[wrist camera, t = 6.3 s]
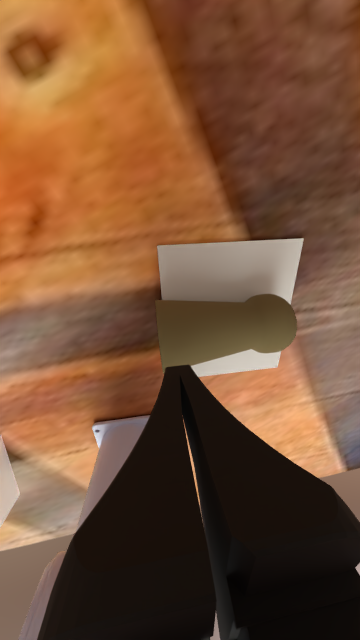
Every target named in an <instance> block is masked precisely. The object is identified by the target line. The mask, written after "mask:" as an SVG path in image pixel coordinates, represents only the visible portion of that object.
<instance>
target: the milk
mask: <svg viewBox="0 0 360 640" xmlns="http://www.w3.org/2000/svg"><path fill="white" fill-rule="evenodd" d="M19 495H20V492H19V489H18V486H17V482H16V479H15V476H14V473H13V470H12V467H11V464H10V461H9V458H8V455H7V451H6V448H5V445H4V442H3V439H2V436H1V435H0V527H1V525H2V524H3V522H4V520H5V519H6V517H7V515H8V514H9V512H10V510H11V509H12V507H13V505H14V504H15V502H16V500H17V499H18V497H19Z"/></svg>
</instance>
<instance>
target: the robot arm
mask: <svg viewBox="0 0 360 640" xmlns="http://www.w3.org/2000/svg"><path fill="white" fill-rule="evenodd" d="M182 415H183V416H182ZM183 419H184V422H183ZM184 423H185V428H186V432H187V436H188V440H189V445H190V449H191V453H192V457H193V462H194V467H195V473H196V479H197V486H198V492H199V498H200V505H201V511H202V517H201V513H200V507H199V502H198V497H197V492H196V487H195V482H194V476H193V471H192V466H191V461H190V455H189V450H188V444H187V439H186V433H185V428H184ZM92 429H93V432H94V435H95V438H96V441H97V444H98V447H99V452H98V455H97V459H96V462H95V466H94V469H93V473H92V476H91V480H90V483H89V487H88V490H87V494H86V497H85V501H84V504H83V508H82V511H81V515H80V518H79V522H78V526H77V529H76V533H74V534H73V537H72V540H71V542H70V545H69V547H68V550H67V552H66V551H61V552H58V553H57V555H56V557H55V558H54V559H53V560H52V561H51V562H50V563H49V564H48V565H47V566H46V568H45V570H44V572H43V575H42V577H41V580H40V582H39V585H38V587H37V589H36V593H35V595H34V597H33V600H32V603H31V605H30V608H29V611H28V614H27V616H26V619H25V622H24V625H23V628H22V631H21V633H20V636H19V639H18V640H210V637H211V636H213V631H214V622H215V613H217V620H218V627H219V633H220V639H221V640H360V575H359V574H358V572H357V570H356V569H355V567H356V566H357V565H358V564H359V563H360V522H359V521H358V519H357V518H356V517H355V515H354V514H353V513H352V511H351V510H350V509H349V507H348V506H347V505H346V504H345V502H344V501H343V500H342V499H341V498H340V497H339V495H338V494H337V493H336V492H335V490H334V489H333V488H332V487H331V486H330V485H328V484H327V483H325V482H323V481H322V480H320V479H319V478H317V477H315V476H314V475H312V474H311V473H309V472H308V471H306V470H304V469H303V468H301V467H300V466H298V465H296V464H295V463H293V462H292V461H290V460H289V459H288V458H286V457H285V456H283V455H282V454H280V453H279V452H278V451H276V450H275V449H273V448H272V447H271V446H269V445H268V444H267V443H266V442H264V441H263V440H262V439H260V438H259V437H258V436H256V435H255V434H254V433H253V432H251V431H250V430H249V429H248V428H246V427H245V426H244V425H243V424H242V423H241V422H239V421H238V420H237V419H236V418H235V417H234V416H233V415H232V414H231V413H230V412H229V411H228V410H226V409H225V408H224V407H223V406H222V404H221V403H220V402H219V401H218V400H217V399H216V398H215V397H214V396H213V395H212V394H211V393H210V391H209V390H208V389H207V388H206V387H205V385H204V384H203V383H202V382H201V380H200V379H199V378H198V376H197V375H196V374H195V372H194V371H193V369H192V367H191V366H190V365H189V364H188V365H180V366H171V367H166V368H165V373H164V378H163V382H162V386H161V389H160V392H159V395H158V398H157V400H156V403H155V405H154V408H153V410H152V412H151V415H147V416H140V417H133V418H126V419H118V420H111V421H104V422H97V423H94V424H93V426H92ZM202 518H203V522H202ZM203 524H204V527H203ZM204 531H205V532H204Z"/></svg>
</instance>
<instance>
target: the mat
mask: <svg viewBox="0 0 360 640" xmlns="http://www.w3.org/2000/svg"><path fill="white" fill-rule="evenodd" d="M303 240H304V238H300V239H279V240H259V241H239V242H218V243H198V244H178V245H157V250H158V261H159V272H160V284H161V295H162V300H179V301H216V302H245V301H246V300H248V299H249V298H250V297H253V296H255V295H260V294H275V295H277V296H280V297H282V298H283V299H285V300H286V301H287V302H288V303H289V304H291V299H292V294H293V289H294V284H295V279H296V274H297V269H298V264H299V259H300V255H301V250H302V245H303ZM280 353H281V351H279V352H275V353H259V352H256V351H254V350H252V349H250V350H246V351H243V352H239V353H236V354H232V355H228V356H225V357H221V358H218V359H214V360H211V361H207V362H203V363H200V364H196V365H193V366H191V367H192V369H193V371H194V372H195V374H196V375H197V376H198V377H201V376H210V375H218V374H226V373H234V372H243V371H251V370H259V369H267V368H276V367H278V363H279V358H280Z"/></svg>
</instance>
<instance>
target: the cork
mask: <svg viewBox="0 0 360 640" xmlns="http://www.w3.org/2000/svg"><path fill="white" fill-rule="evenodd" d="M155 307H156V319H157V329H158V338H159V347H160V355H161V362H162V369H163V374H164V373H165V368H166V367H171V366H180V365H188V364H189V365H190V366H193V365H196V364H200V363H203V362H207V361H211V360H214V359H218V358H221V357H225V356H228V355H232V354H236V353H239V352H243V351H246V350H250V349H252V350H254V351H256V352H259V353H275V352H279V351H282V350H284V349H285V348H286V347H288V346H289V345H290V344H291V343H292V341H293V340H294V338H295V336H296V331H297V320H296V316H295V313H294V310H293V308H292V307H291V305H290V304H289V303H288V302H287V301H286V300H285V299H283V298H282V297H280V296H277V295H275V294H260V295H255V296H253V297H250V298H249V299H248V300H246V301H245V302H216V301H179V300H155Z"/></svg>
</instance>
